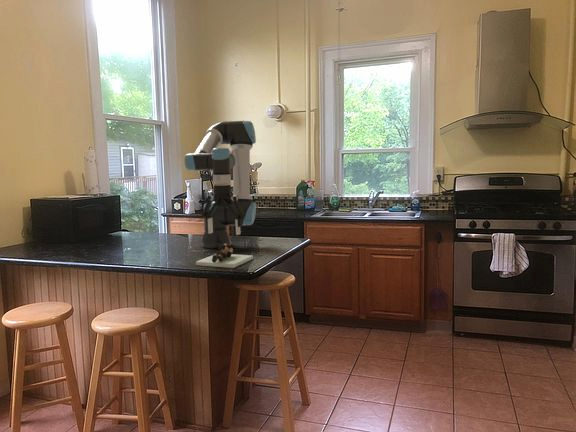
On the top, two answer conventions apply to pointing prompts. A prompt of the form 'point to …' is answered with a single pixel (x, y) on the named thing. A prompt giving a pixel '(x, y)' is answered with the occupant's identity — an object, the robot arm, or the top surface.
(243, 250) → the top surface
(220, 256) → the toy
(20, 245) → the top surface
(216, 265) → the baseplate
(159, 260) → the top surface
